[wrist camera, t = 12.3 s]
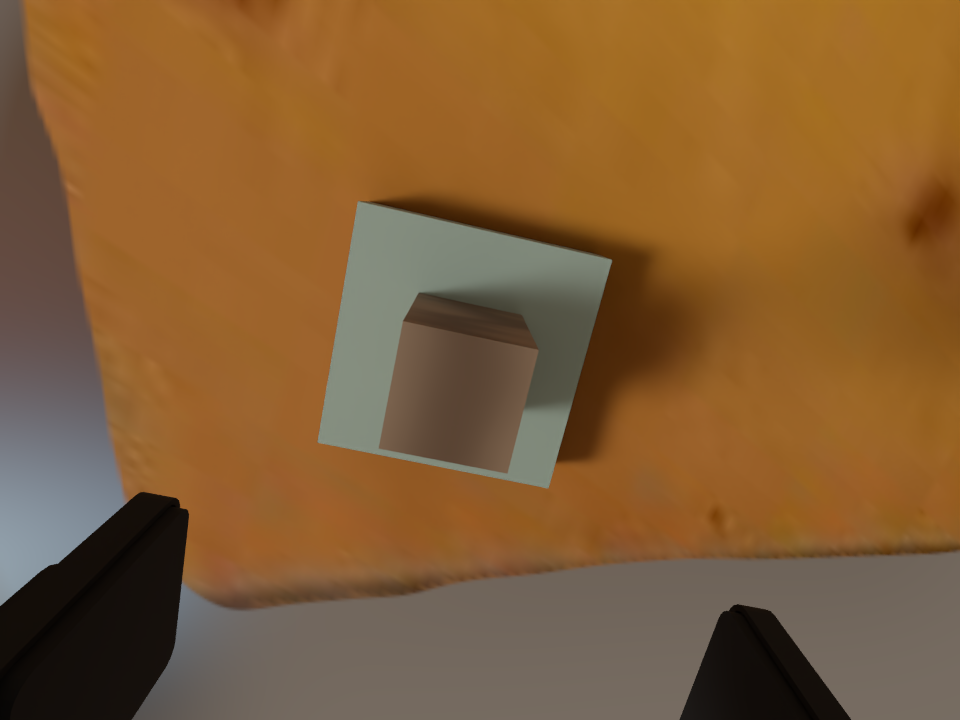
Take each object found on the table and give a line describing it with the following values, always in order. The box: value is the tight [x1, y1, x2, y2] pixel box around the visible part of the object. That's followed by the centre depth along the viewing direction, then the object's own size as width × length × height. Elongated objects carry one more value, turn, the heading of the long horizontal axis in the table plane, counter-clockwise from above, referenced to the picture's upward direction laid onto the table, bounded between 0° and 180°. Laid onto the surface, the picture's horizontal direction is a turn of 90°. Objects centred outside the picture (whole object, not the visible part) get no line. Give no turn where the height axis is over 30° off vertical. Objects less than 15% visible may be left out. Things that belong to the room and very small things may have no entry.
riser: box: [318, 201, 612, 488], centre depth 30 cm, size 12×12×3 cm
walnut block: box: [379, 293, 539, 474], centre depth 25 cm, size 5×5×7 cm
